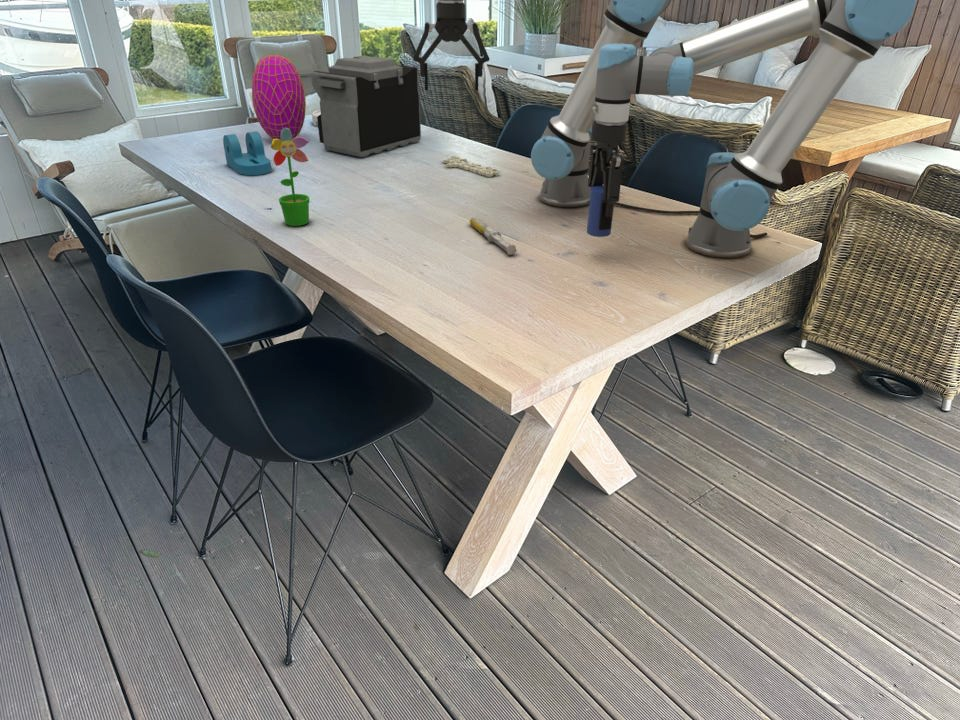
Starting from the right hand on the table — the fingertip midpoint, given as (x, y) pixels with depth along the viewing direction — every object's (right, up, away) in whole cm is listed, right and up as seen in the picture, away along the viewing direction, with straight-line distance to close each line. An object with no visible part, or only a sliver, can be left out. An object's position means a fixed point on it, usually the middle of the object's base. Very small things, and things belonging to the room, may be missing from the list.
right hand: (599, 224), depth 161 cm
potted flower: (-77, +5, +23) cm, 80 cm away
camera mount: (-105, +32, +68) cm, 129 cm away
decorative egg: (-104, +53, +104) cm, 156 cm away
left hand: (-36, +42, +26) cm, 61 cm away
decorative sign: (-32, +33, +71) cm, 85 cm away
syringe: (-25, -1, +13) cm, 29 cm away
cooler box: (-69, +49, +97) cm, 129 cm away
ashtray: (-88, +69, +132) cm, 173 cm away
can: (0, -2, +1) cm, 2 cm away
